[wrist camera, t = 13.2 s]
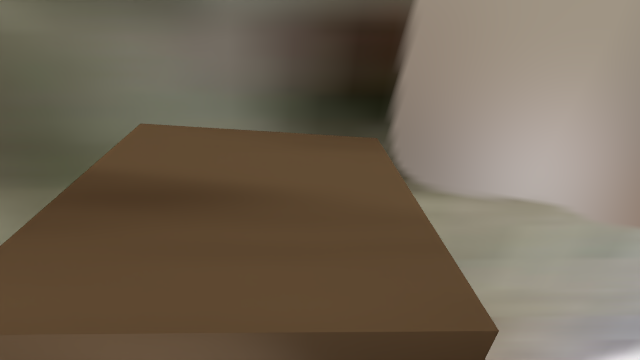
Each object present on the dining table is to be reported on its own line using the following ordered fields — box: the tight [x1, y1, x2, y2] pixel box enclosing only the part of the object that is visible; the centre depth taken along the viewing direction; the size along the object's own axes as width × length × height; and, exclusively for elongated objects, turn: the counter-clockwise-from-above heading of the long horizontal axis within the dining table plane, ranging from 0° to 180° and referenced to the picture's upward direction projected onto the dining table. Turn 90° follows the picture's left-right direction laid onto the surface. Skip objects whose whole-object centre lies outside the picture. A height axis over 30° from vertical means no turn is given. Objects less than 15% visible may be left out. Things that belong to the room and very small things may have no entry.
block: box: [0, 124, 499, 360], centre depth 6 cm, size 5×5×5 cm
